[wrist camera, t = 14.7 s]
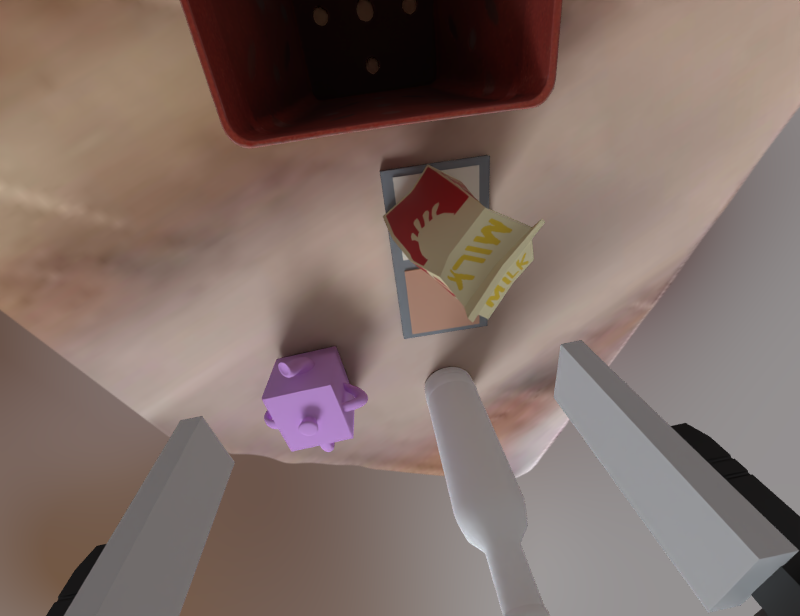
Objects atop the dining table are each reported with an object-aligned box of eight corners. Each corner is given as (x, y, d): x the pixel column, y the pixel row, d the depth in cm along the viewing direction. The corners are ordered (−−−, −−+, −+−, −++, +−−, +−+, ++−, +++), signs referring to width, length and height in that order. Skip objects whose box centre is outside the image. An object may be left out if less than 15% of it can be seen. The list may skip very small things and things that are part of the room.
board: (379, 170, 35) (380, 172, 34) (486, 155, 35) (490, 155, 34) (403, 335, 46) (404, 340, 45) (485, 321, 46) (488, 326, 45)
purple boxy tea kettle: (249, 331, 43) (220, 382, 34) (349, 309, 43) (345, 355, 34) (296, 420, 52) (282, 480, 43) (379, 402, 52) (382, 458, 43)
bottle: (468, 402, 54) (567, 658, 28) (422, 404, 53) (479, 670, 27) (475, 364, 50) (599, 621, 24) (426, 366, 49) (497, 634, 23)
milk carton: (435, 268, 40) (491, 373, 22) (379, 219, 36) (394, 299, 19) (490, 212, 37) (603, 283, 20) (436, 153, 33) (515, 175, 16)
